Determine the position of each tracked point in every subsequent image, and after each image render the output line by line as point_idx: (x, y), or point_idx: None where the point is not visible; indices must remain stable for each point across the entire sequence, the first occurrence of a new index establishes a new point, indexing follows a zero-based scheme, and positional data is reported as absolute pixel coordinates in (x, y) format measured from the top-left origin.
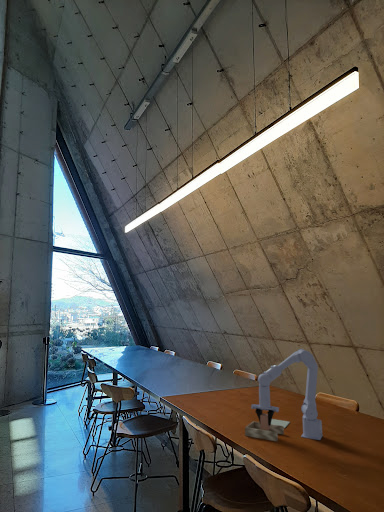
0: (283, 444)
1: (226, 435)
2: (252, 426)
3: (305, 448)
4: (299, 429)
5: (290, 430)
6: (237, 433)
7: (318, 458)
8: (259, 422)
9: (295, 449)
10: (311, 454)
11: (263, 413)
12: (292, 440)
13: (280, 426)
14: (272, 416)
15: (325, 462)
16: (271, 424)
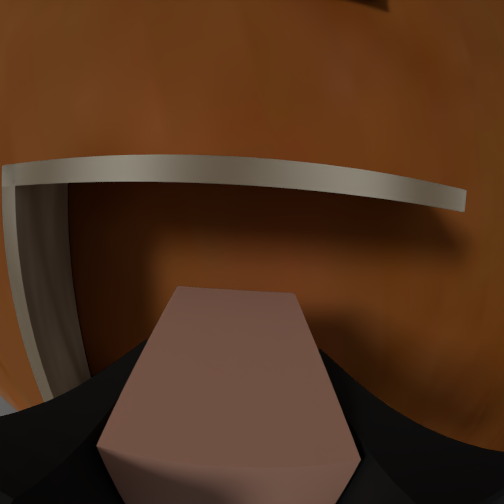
0: (402, 414)
1: (5, 392)
2: (43, 242)
3: (496, 389)
4: (472, 13)
5: (432, 41)
6: (16, 340)
7: (497, 439)
8: (79, 167)
9: (449, 430)
10: (491, 428)
11: (126, 453)
12: (468, 311)
13: (432, 205)
14: (412, 435)
15: (501, 448)
16: (297, 179)
